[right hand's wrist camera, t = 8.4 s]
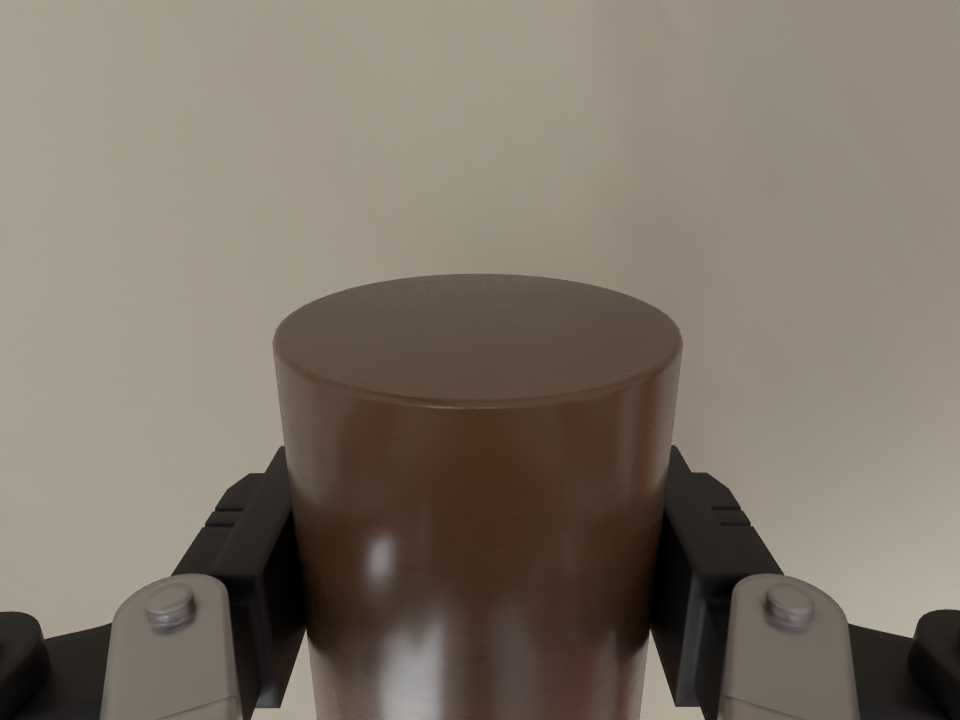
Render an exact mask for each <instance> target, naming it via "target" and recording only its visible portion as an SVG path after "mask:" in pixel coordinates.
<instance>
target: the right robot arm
mask: <svg viewBox="0 0 960 720" xmlns="http://www.w3.org/2000/svg"><path fill="white" fill-rule="evenodd" d="M750 523H751V522H750V521H749V519H748V518H747V516H746V515H745V513H744V512H743V511H741V507H740V505H739V504H738V502H737V501H736V499H735V498H734V496H733V494H732V493H731V491H730V490H729V488H727V487H726V486H724V485H723V484H722V483H720V482H719V481H718V480H716V479H715V478H713V477H712V476H711V475H709V474H708V473H691V471H690V469H689V467H688V466H687V464H686V462H685V460H684V459H683V457H682V455H681V453H680V452H679V450H678V448H677V447H676V446H675V445H671V451H670V460H669V468H668V477H667V486H666V494H665V503H664V512H663V520H662V529H661V537H660V546H659V555H658V563H657V572H656V581H655V589H654V598H653V607H652V615H651V624H650V629H651V632H652V635H653V638H654V642H655V645H656V648H657V651H658V654H659V657H660V660H661V663H662V666H663V669H664V673H665V676H666V679H667V682H668V685H669V688H670V691H671V694H672V697H673V700H674V703H675V707H701V710H702V713H703V715H704V718H705V720H960V611H959V610H947V609H945V610H936V611H932V612H929V613H927V614H925V615H923V616H922V617H921V618H920V620H919V622H918V624H917V627H916V630H915V634H914V637H913V638H908V637H904V636H899V635H895V634H890V633H886V632H881V631H877V630H873V629H868V628H864V627H860V626H856V625H852V624H849V623H848V622H847V618H846V616H845V614H844V612H843V610H842V609H841V607H840V606H839V605H838V604H837V603H836V602H835V601H834V600H833V599H832V598H831V597H830V596H829V595H827V594H826V593H825V592H823V591H822V590H820V589H818V588H817V587H815V586H813V585H811V584H809V583H807V582H804V581H802V580H799V579H796V578H793V577H789V576H785V575H784V574H783V572H782V570H781V569H780V567H779V566H778V564H777V563H776V561H775V560H774V558H773V557H772V555H771V553H770V552H769V550H768V549H767V547H766V546H765V544H764V543H763V541H762V539H761V538H760V536H759V535H758V533H757V532H756V530H755V529H754V527H753V526H751V525H750ZM305 630H306V621H305V613H304V605H303V596H302V588H301V579H300V571H299V562H298V554H297V546H296V537H295V529H294V520H293V512H292V503H291V495H290V487H289V478H288V470H287V461H286V453H285V446H281V447H280V448H279V449H278V451H277V453H276V454H275V456H274V458H273V460H272V461H271V463H270V465H269V467H268V468H267V470H266V472H265V473H249V474H248V475H247V476H245V477H244V478H242V479H241V480H240V481H238V482H237V483H235V484H234V485H233V486H231V487H230V488H229V489H227V491H226V492H225V494H224V495H223V497H222V498H221V500H220V501H219V503H218V504H217V506H216V507H215V512H212V514H211V515H210V517H209V518H208V520H207V521H206V523H205V527H202V529H201V530H200V532H199V534H198V535H197V537H196V538H195V540H194V541H193V543H192V544H191V546H190V547H189V549H188V550H187V552H186V553H185V555H184V556H183V558H182V560H181V561H180V563H179V564H178V566H177V567H176V569H175V570H174V572H173V573H172V575H171V576H170V577H167V578H164V579H161V580H158V581H156V582H153V583H151V584H149V585H147V586H145V587H143V588H142V589H140V590H138V591H137V592H135V593H134V594H133V595H131V596H130V597H129V598H128V599H127V600H126V601H125V602H124V603H123V604H122V605H121V606H120V607H119V609H118V610H117V612H116V614H115V616H114V618H113V622H112V623H109V624H106V625H104V626H100V627H96V628H92V629H88V630H84V631H79V632H75V633H70V634H66V635H61V636H57V637H52V638H48V639H44V637H43V634H42V631H41V627H40V625H39V623H38V621H37V620H36V619H35V618H34V617H33V616H31V615H29V614H26V613H22V612H0V720H251V717H252V714H253V712H254V709H255V708H280V706H281V703H282V700H283V697H284V694H285V691H286V688H287V685H288V682H289V679H290V676H291V673H292V670H293V667H294V664H295V661H296V658H297V655H298V652H299V649H300V646H301V643H302V640H303V637H304V633H305Z"/></svg>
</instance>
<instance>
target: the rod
mask: <svg viewBox="0 0 960 720" xmlns="http://www.w3.org/2000/svg"><path fill="white" fill-rule="evenodd" d="M682 347H683V341H682V337H681V333H680V330H679V328H678V327H677V325H676V324H675V322H674V321H673V320H672V319H671V318H669V317H668V316H667V315H666V314H665V313H663V312H662V311H660V310H659V309H657V308H656V307H654V306H652V305H650V304H648V303H646V302H644V301H641V300H639V299H636V298H634V297H631V296H628V295H626V294H623V293H619V292H616V291H613V290H610V289H606V288H602V287H597V286H593V285H589V284H584V283H578V282H573V281H567V280H560V279H553V278H544V277H534V276H522V275H504V274H453V275H435V276H422V277H413V278H404V279H397V280H390V281H384V282H378V283H373V284H368V285H363V286H359V287H355V288H351V289H347V290H344V291H340V292H337V293H334V294H331V295H328V296H325V297H323V298H320V299H318V300H315V301H313V302H311V303H309V304H307V305H305V306H302V307H301V308H299V309H297V310H296V311H294V312H293V313H291V314H290V315H289V316H288V317H286V318H285V319H284V320H283V321H282V322H281V324H280V325H279V326H278V328H277V329H276V332H275V335H274V339H273V352H274V360H275V369H276V377H277V385H278V394H279V402H280V411H281V419H282V428H283V436H284V444H285V453H286V461H287V470H288V478H289V487H290V495H291V503H292V512H293V520H294V529H295V537H296V546H297V554H298V562H299V571H300V579H301V588H302V596H303V605H304V613H305V621H306V630H307V638H308V647H309V655H310V664H311V672H312V680H313V689H314V697H315V706H316V714H317V720H639V719H640V710H641V702H642V693H643V684H644V676H645V667H646V658H647V650H648V641H649V632H650V624H651V615H652V607H653V598H654V589H655V581H656V572H657V563H658V555H659V546H660V537H661V529H662V520H663V512H664V503H665V494H666V486H667V477H668V468H669V460H670V451H671V442H672V434H673V425H674V417H675V408H676V399H677V391H678V382H679V373H680V365H681V356H682Z"/></svg>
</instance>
